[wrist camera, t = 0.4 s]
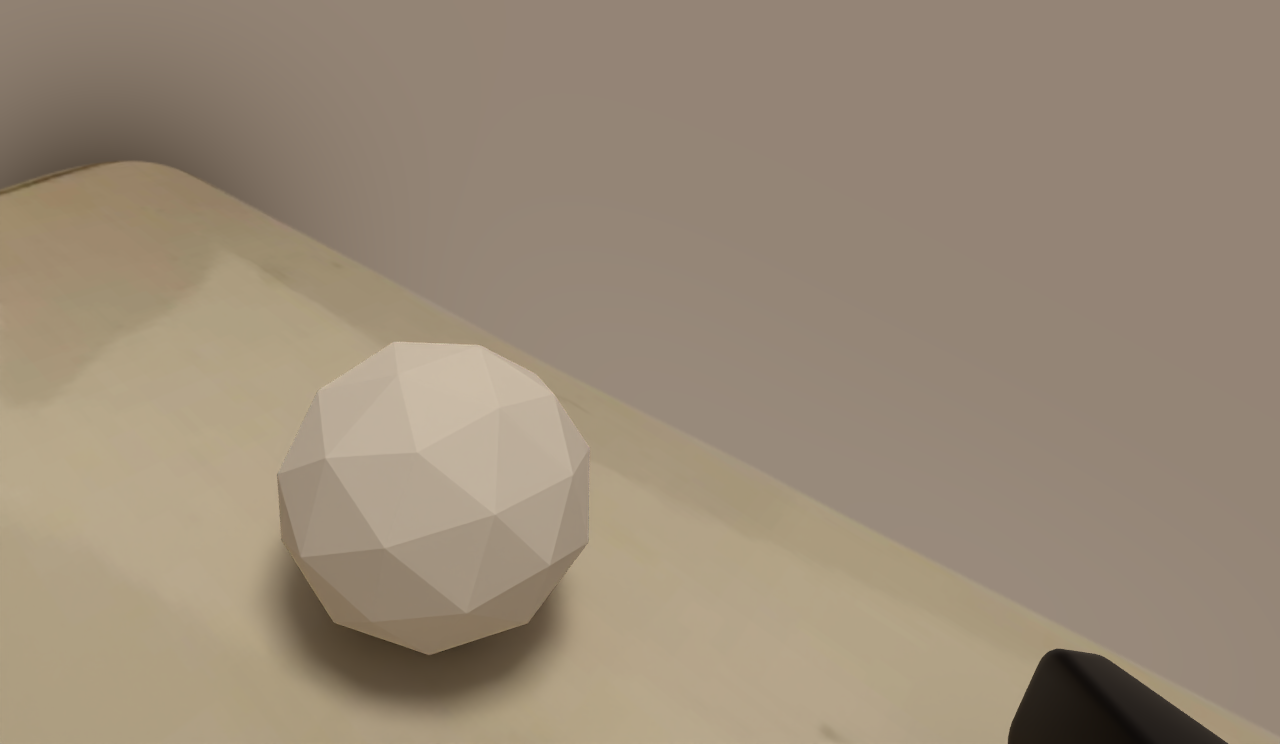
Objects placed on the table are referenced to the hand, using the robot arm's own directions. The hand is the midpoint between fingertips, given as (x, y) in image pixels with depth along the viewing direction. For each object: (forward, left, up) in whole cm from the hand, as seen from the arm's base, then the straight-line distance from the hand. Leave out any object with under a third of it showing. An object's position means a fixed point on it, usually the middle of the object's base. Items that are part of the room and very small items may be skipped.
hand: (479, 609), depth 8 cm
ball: (+15, +2, -16) cm, 22 cm away
